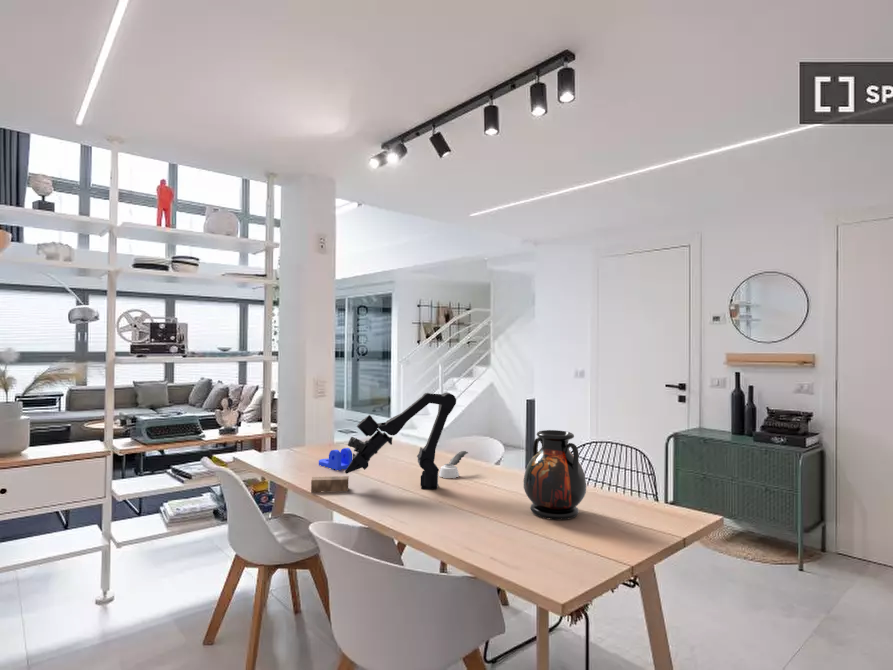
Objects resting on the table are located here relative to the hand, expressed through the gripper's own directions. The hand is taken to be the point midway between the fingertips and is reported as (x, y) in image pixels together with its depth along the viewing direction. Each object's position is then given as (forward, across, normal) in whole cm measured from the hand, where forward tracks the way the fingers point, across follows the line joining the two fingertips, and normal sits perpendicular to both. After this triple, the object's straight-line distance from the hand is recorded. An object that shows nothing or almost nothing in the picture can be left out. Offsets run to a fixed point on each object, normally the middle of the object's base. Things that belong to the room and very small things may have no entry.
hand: (345, 472), depth 206 cm
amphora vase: (-47, +37, +56) cm, 82 cm away
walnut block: (+2, 0, +4) cm, 5 cm away
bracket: (+10, -42, 0) cm, 43 cm away
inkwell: (-29, -21, +39) cm, 53 cm away
